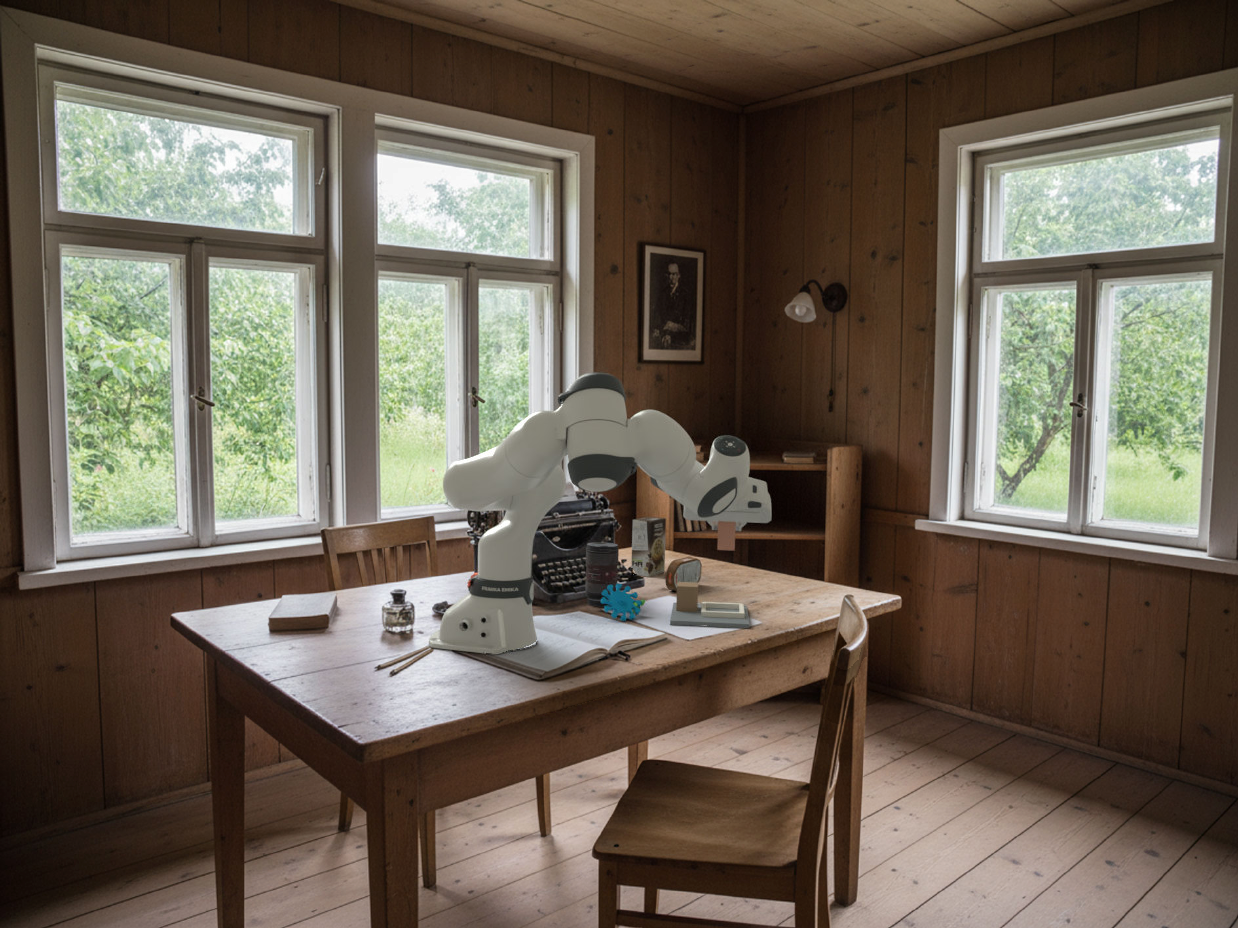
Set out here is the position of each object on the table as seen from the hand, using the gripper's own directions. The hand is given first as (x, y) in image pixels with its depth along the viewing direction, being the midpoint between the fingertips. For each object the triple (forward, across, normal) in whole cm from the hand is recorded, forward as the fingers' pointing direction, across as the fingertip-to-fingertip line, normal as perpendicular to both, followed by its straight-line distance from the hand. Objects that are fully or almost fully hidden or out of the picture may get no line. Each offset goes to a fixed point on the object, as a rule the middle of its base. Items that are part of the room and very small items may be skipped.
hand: (726, 528), depth 220 cm
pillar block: (+3, 0, -4) cm, 5 cm away
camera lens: (+21, -30, -9) cm, 38 cm away
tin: (+36, -11, +6) cm, 38 cm away
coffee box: (+49, -22, +19) cm, 57 cm away
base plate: (+15, -3, -15) cm, 22 cm away
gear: (+12, -24, -19) cm, 32 cm away
